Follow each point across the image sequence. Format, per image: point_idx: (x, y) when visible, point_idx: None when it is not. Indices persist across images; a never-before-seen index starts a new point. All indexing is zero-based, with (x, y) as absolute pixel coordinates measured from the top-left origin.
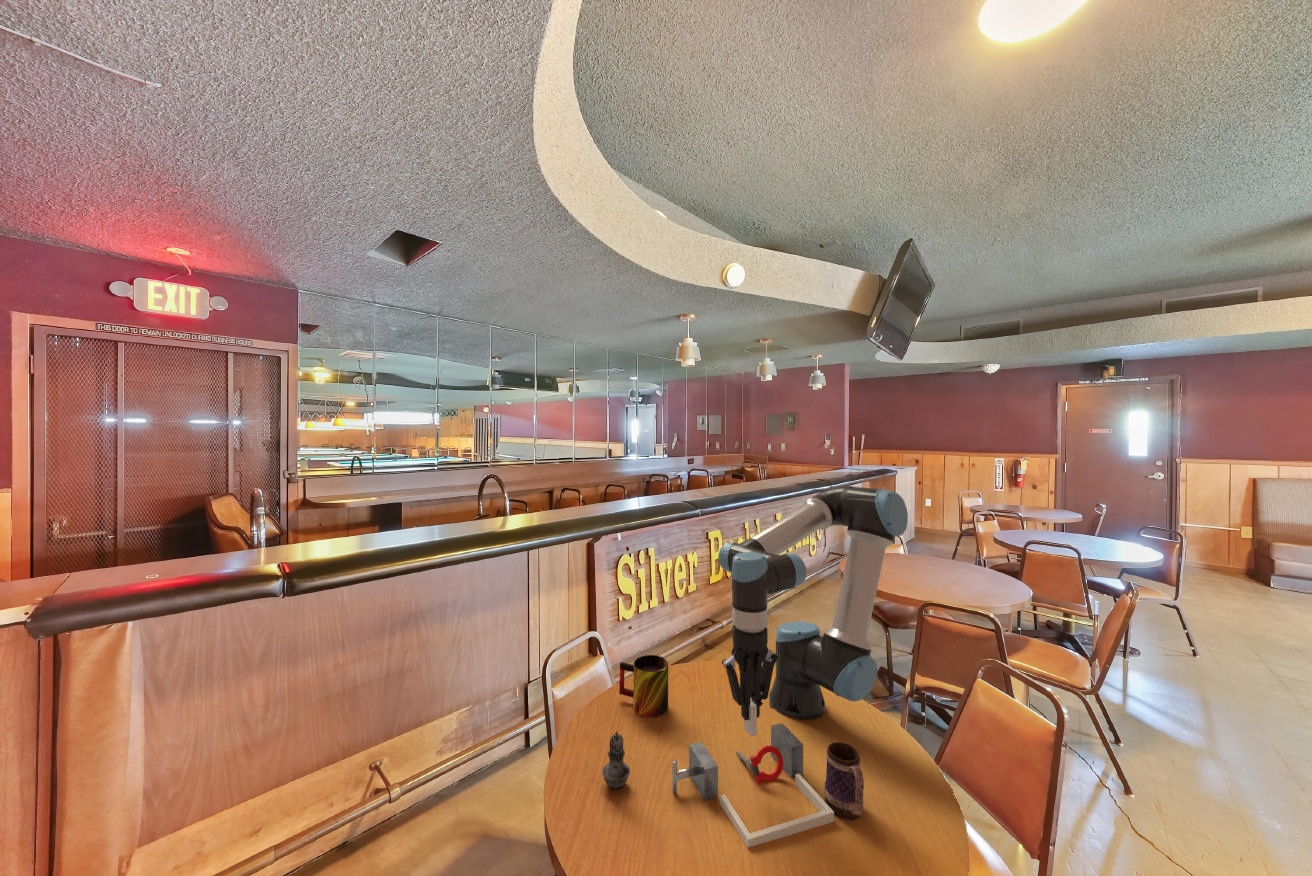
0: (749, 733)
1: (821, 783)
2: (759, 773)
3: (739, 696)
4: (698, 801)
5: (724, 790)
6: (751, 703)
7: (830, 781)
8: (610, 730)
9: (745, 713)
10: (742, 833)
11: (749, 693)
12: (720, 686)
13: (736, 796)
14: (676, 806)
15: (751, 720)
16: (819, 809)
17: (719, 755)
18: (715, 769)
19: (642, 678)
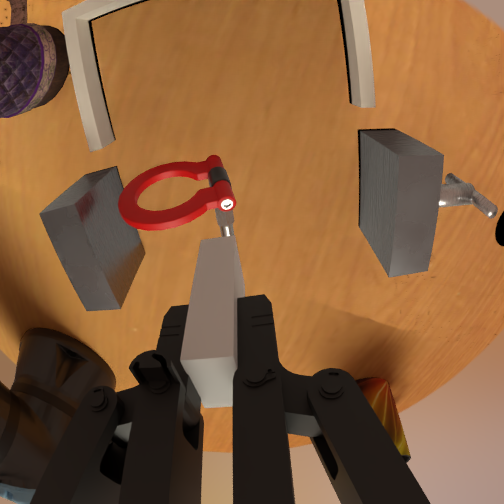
0: (237, 251)
1: (52, 146)
2: (210, 170)
3: (356, 436)
4: None
5: (325, 155)
6: (211, 380)
7: (18, 51)
8: (449, 349)
9: (267, 325)
10: None
11: (244, 458)
12: None
13: (301, 127)
14: (451, 142)
15: (229, 286)
16: (89, 43)
17: (284, 273)
18: (403, 153)
19: (403, 441)
